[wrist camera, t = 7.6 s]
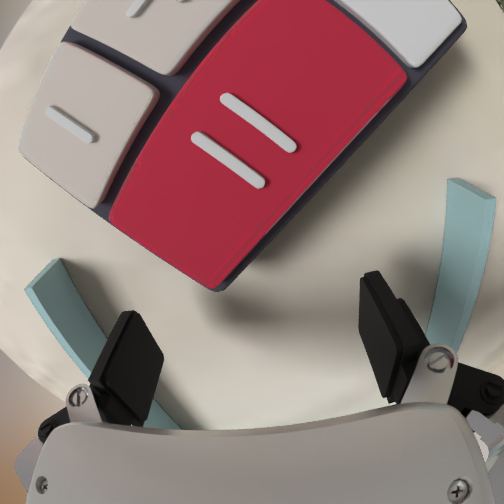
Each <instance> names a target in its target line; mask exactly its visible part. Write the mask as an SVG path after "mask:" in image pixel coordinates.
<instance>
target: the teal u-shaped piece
mask: <svg viewBox="0 0 504 504" xmlns="http://www.w3.org/2000/svg"><path fill="white" fill-rule="evenodd" d="M495 206H496V198H495V197H494V196H492V195H490V194H488V193H487V192H485V191H483V190H481V189H479V188H477V187H475V186H474V185H472V184H470V183H468V182H466V181H464V180H462V179H460V178H453V179H447V208H446V222H445V233H444V243H443V251H442V258H441V265H440V271H439V277H438V283H437V288H436V293H435V298H434V302H433V307H432V311H431V315H430V319H429V323H428V327H427V331H426V335H425V336H426V338H427V339H428V341H429V343H430V345H431V344H436V343H440V344H445V345H448V346H450V347H451V348H452V349H454V351H455V352H456V353H457V351H458V348H459V346H460V344H461V341H462V339H463V336H464V334H465V331H466V328H467V326H468V323H469V320H470V317H471V314H472V311H473V308H474V305H475V302H476V299H477V295H478V292H479V288H480V285H481V281H482V277H483V273H484V269H485V265H486V261H487V256H488V251H489V246H490V241H491V235H492V229H493V222H494V215H495ZM24 290H25V292H26V294H27V295H28V297H29V299H30V300H31V302H32V304H33V305H34V307H35V308H36V310H37V312H38V313H39V315H40V316H41V318H42V319H43V321H44V322H45V324H46V325H47V327H48V328H49V330H50V331H51V332H52V334H53V335H54V337H55V338H56V339H57V341H58V342H59V343H60V345H61V346H62V347H63V349H64V350H65V351H66V353H67V354H68V355H69V356H70V358H71V359H72V360H73V361H74V363H75V364H76V365H77V366H78V367H79V369H80V370H81V371H82V372H83V373H84V374H85V376H86V377H87V378H88V379H89V377H90V374H91V372H92V370H93V368H94V366H95V364H96V362H97V360H98V358H99V356H100V354H101V352H102V350H103V348H104V346H105V344H106V342H107V340H108V339H107V338H106V336H105V335H104V333H103V332H102V330H101V329H100V327H99V326H98V324H97V323H96V321H95V319H94V318H93V316H92V315H91V313H90V311H89V310H88V308H87V307H86V305H85V303H84V302H83V300H82V298H81V296H80V295H79V293H78V291H77V289H76V288H75V286H74V284H73V282H72V280H71V278H70V277H69V275H68V273H67V271H66V269H65V267H64V265H63V263H62V261H61V259H60V258H58V259H55V260H52V261H51V262H50V263H49V264H48V265H47V266H46V267H45V268H44V269H43V270H42V271H41V272H40V273H39V274H38V275H37V276H36V277H35V278H34V279H33V280H32V281H31V282H30V283H29V284H28V285H27V287H26V288H25V289H24ZM136 427H137V426H136ZM143 427H146V428H158V429H174V430H182V429H181V428H180V427H179V426H178V425H177V424H176V423H175V422H174V421H173V419H172V418H171V417H170V416H169V415H168V414H167V413H166V412H165V411H164V410H163V409H162V408H161V406H160V405H159V404H158V403H157V402H156V401H155V400H154V399H153V400H152V404H151V408H150V412H149V415H148V419H147V420H146V421H145V422H144V425H143Z"/></svg>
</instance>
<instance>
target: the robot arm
mask: <svg viewBox="0 0 504 504" xmlns="http://www.w3.org/2000/svg"><path fill="white" fill-rule="evenodd" d="M359 333H360V336H361V339H362V341H363V344H364V347H365V349H366V352H367V355H368V358H369V360H370V363H371V366H372V369H373V372H374V375H375V378H376V381H377V383H378V386H379V389H380V393H381V395H382V397H383V398H385V397H387V400H388V403H393V402H396V404H397V405H392V406H387V407H382V408H378V409H373V410H368V411H364V412H360V413H355V414H351V415H346V416H341V417H336V418H330V419H325V420H319V421H313V422H307V423H301V424H293V425H285V426H277V427H266V428H254V429H238V430H174V429H158V428H146V427H143V425H144V422H145V421H146V420H147V419H148V415H149V412H150V408H151V404H152V400H153V397H154V393H155V390H156V386H157V383H158V379H159V376H160V372H161V369H162V365H163V362H164V355H163V353H162V351H161V349H160V348H159V346H158V345H157V343H156V341H155V340H154V338H153V336H152V334H151V333H150V331H149V329H148V328H147V326H146V324H145V322H144V320H143V319H142V317H141V315H140V314H139V313H137V312H136V311H134V310H132V311H124V312H122V313H121V315H120V317H119V319H118V320H117V322H116V324H115V326H114V328H113V330H112V332H111V334H110V336H109V338H108V340H107V342H106V344H105V346H104V348H103V350H102V352H101V354H100V356H99V358H98V360H97V362H96V364H95V366H94V368H93V370H92V372H91V374H90V377H89V379H88V381H89V382H90V383H91V384H90V386H88V385H86V384H79V385H77V386H75V387H73V388H72V389H71V390H70V391H69V393H68V395H67V397H66V405H67V406H66V407H65V408H63V409H62V410H60V411H59V412H57V413H56V414H54V415H52V416H51V417H49V418H48V419H46V420H45V421H44V422H43V423H42V424H41V425H40V427H39V430H38V437H39V438H37V437H35V438H34V439H33V440H32V441H31V442H30V444H28V445H27V447H26V448H25V449H24V450H23V451H22V452H21V453H20V455H18V457H17V458H16V460H15V470H16V472H17V474H18V476H19V478H20V480H21V481H22V484H23V485H24V487H25V489H26V491H27V492H28V496H27V500H26V504H504V380H503V379H502V378H501V377H500V376H498V375H495V374H492V373H489V372H486V371H483V370H480V369H477V368H474V367H471V366H468V365H465V364H462V363H459V362H458V357H457V354H456V352H455V351H454V349H452V348H451V347H450V346H448V345H445V344H440V343H436V344H431V345H430V343H429V341H428V339H427V338H426V336H425V334H424V332H423V331H422V329H421V327H420V326H419V324H418V322H417V321H416V319H415V317H414V316H413V314H412V312H411V311H410V309H409V307H408V306H407V304H406V303H405V301H404V300H403V299H402V298H399V299H396V297H395V296H394V294H393V292H392V291H391V289H390V287H389V286H388V284H387V283H386V281H385V280H384V278H383V276H382V275H381V273H380V272H379V271H378V270H377V271H372V272H368V273H365V274H364V277H362V278H360V302H359ZM131 425H132V426H131ZM136 426H137V427H136ZM473 432H476V433H477V434H479V435H480V436H481V438H480V439H481V440H482V441H483V442H485V444H486V445H487V446H488V449H489V456H488V459H487V461H486V462H485V461H484V458H483V455H482V452H481V449H480V447H479V444H478V442H477V440H476V437H475V435H474V433H473Z"/></svg>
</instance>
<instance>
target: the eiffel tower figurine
mask: <svg viewBox="0 0 504 504" xmlns="http://www.w3.org/2000/svg"><path fill="white" fill-rule="evenodd" d="M496 1H497V2H498V4H499V5H500V7H501V9H502V10H503V12H504V0H496Z"/></svg>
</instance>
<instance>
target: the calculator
mask: <svg viewBox="0 0 504 504" xmlns="http://www.w3.org/2000/svg"><path fill="white" fill-rule="evenodd" d="M466 28H467V23H466V20H465V18H464V17H463V15H462V14H461V13H460V12H459V11H458V9H457V8H456V7H455V6H454V5H453V4H452V2H451V1H450V0H86V1H85V2H84V3H83V5H82V6H81V8H80V9H79V11H78V12H77V14H76V15H75V17H74V19H73V21H72V23H71V26H70V27H69V29H68V31H67V32H66V34H65V36H64V37H63V39H62V41H61V43H60V44H59V45H58V47H57V48H56V50H55V52H54V54H53V56H52V58H51V60H50V62H49V64H48V66H47V68H46V70H45V72H44V74H43V77H42V79H41V81H40V84H39V86H38V88H37V91H36V93H35V96H34V99H33V101H32V104H31V107H30V109H29V112H28V115H27V118H26V121H25V124H24V127H23V131H22V134H21V138H20V141H19V146H18V149H19V152H20V153H21V154H22V156H23V157H24V158H26V159H27V160H28V161H29V162H30V163H32V164H33V165H34V166H35V167H36V168H38V169H39V170H40V171H41V172H43V173H44V174H45V175H46V176H48V177H49V178H50V179H51V180H53V181H54V182H55V183H56V184H58V185H59V186H60V187H62V188H63V189H64V190H66V191H67V192H68V193H69V194H71V195H72V196H73V197H75V198H76V199H77V200H79V201H80V202H81V203H83V204H84V205H85V206H87V207H88V208H89V209H91V210H92V211H93V212H95V213H96V214H98V215H99V216H100V217H102V218H103V219H104V220H106V221H107V222H109V223H110V224H111V225H113V226H114V227H116V228H117V229H119V230H120V231H121V232H123V233H124V234H126V235H127V236H129V237H130V238H131V239H133V240H134V241H136V242H137V243H139V244H140V245H142V246H143V247H145V248H146V249H147V250H149V251H150V252H152V253H153V254H155V255H156V256H158V257H159V258H161V259H162V260H164V261H165V262H167V263H168V264H170V265H172V266H173V267H175V268H176V269H178V270H179V271H181V272H182V273H184V274H185V275H187V276H189V277H190V278H192V279H193V280H195V281H196V282H198V283H200V284H201V285H203V286H204V287H206V288H208V289H209V290H211V291H214V292H220V291H223V290H225V289H226V288H227V287H228V286H229V285H230V284H231V283H232V282H233V281H234V280H235V279H236V278H237V277H238V275H239V274H240V273H241V272H242V271H243V270H244V269H245V268H246V267H247V266H248V265H249V264H250V263H251V262H252V261H253V260H254V259H255V258H256V256H257V255H258V254H259V253H260V252H261V251H262V250H263V249H264V248H265V247H266V246H267V245H268V244H269V243H270V242H271V241H272V240H273V238H274V237H275V236H276V235H277V234H278V233H279V232H280V231H281V230H282V229H283V228H284V227H285V226H286V225H287V224H288V223H289V221H290V220H291V219H292V218H293V217H294V216H295V215H296V214H297V213H298V212H299V211H300V210H301V209H302V208H303V207H304V205H305V204H306V203H307V202H308V201H309V200H310V199H311V198H312V197H313V196H314V195H315V194H316V193H317V192H318V191H319V189H320V188H321V187H322V186H323V185H324V184H325V183H326V182H327V181H328V180H329V179H330V178H331V177H332V176H333V174H334V173H335V172H336V171H337V170H338V169H339V168H340V167H341V166H342V165H343V164H344V163H345V162H346V160H347V159H348V158H349V157H350V156H351V155H352V154H353V153H354V152H355V151H356V150H357V149H358V148H359V146H360V145H361V144H362V143H363V142H364V141H365V140H366V139H367V138H368V137H369V136H370V135H371V134H372V132H373V131H374V130H375V129H376V128H377V127H378V126H379V125H380V124H381V123H382V122H383V121H384V119H385V118H386V117H387V116H388V115H389V114H390V113H391V112H392V111H393V110H394V109H395V108H396V106H397V105H398V104H399V103H400V102H401V101H402V100H403V99H404V98H405V97H406V96H407V94H408V93H409V92H410V91H411V90H412V89H413V88H414V87H415V86H416V85H417V84H418V82H419V81H420V80H421V79H422V78H423V77H424V76H425V75H426V74H427V73H428V71H429V70H430V69H431V68H432V67H433V66H434V65H435V64H436V63H437V62H438V61H439V59H440V58H441V57H442V56H443V55H444V54H445V53H446V52H447V51H448V49H449V48H450V47H451V46H452V45H453V44H454V43H455V42H456V41H457V40H458V38H459V37H460V36H461V35H462V34H463V33H464V32H465V30H466Z"/></svg>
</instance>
